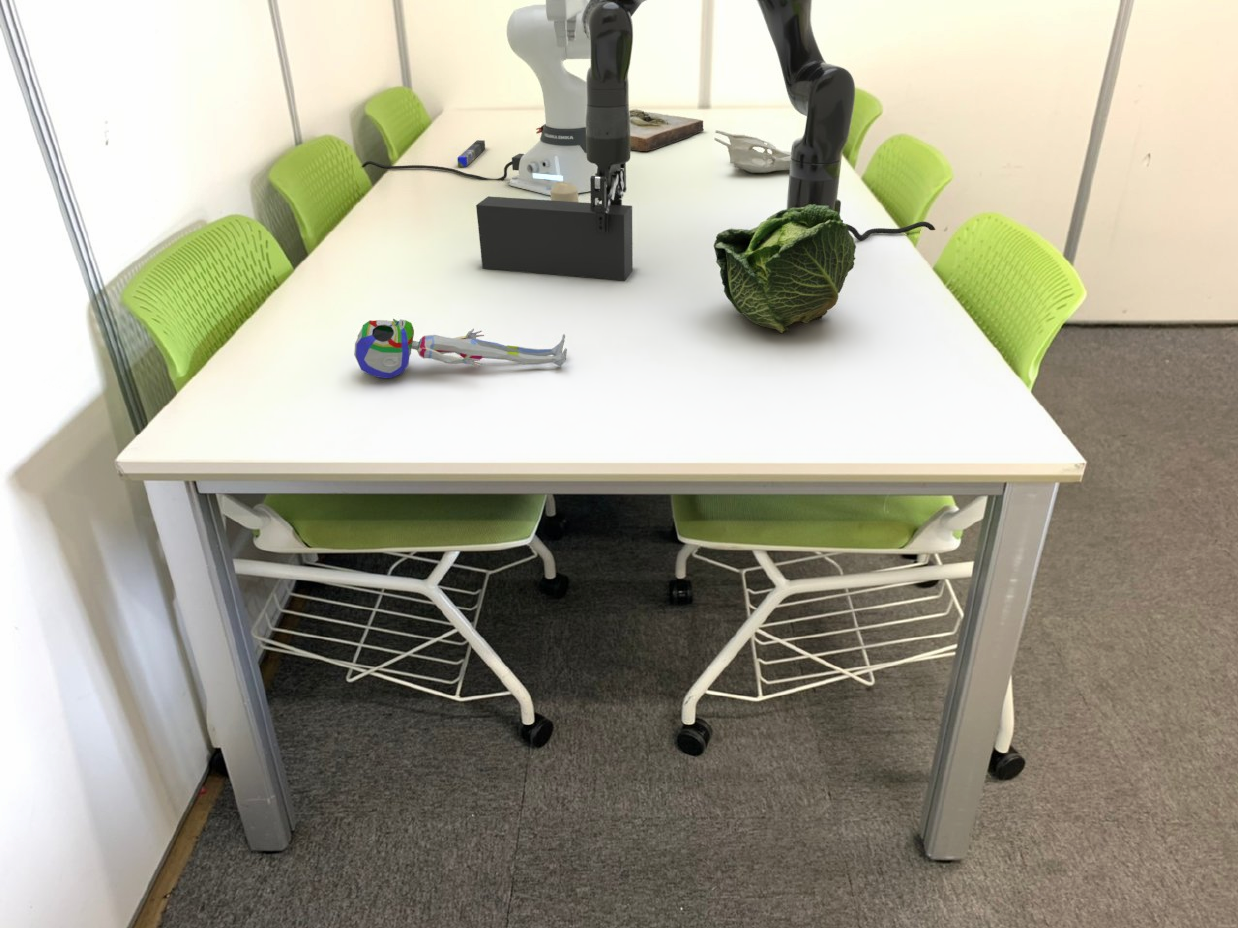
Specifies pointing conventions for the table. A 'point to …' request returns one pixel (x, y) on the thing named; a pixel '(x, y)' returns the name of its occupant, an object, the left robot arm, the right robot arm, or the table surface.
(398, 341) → the toy
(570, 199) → the candle
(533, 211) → the box
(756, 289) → the vegetable
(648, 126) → the plaque
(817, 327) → the table surface
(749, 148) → the anatomical model
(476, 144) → the pillar
